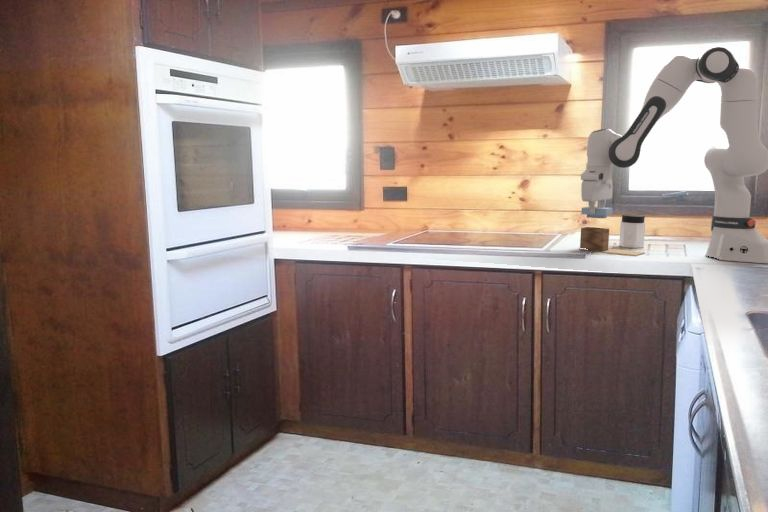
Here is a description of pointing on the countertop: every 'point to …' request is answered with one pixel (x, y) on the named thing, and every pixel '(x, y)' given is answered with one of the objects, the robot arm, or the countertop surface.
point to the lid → (597, 212)
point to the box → (594, 239)
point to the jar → (632, 231)
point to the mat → (623, 252)
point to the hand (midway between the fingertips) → (596, 212)
